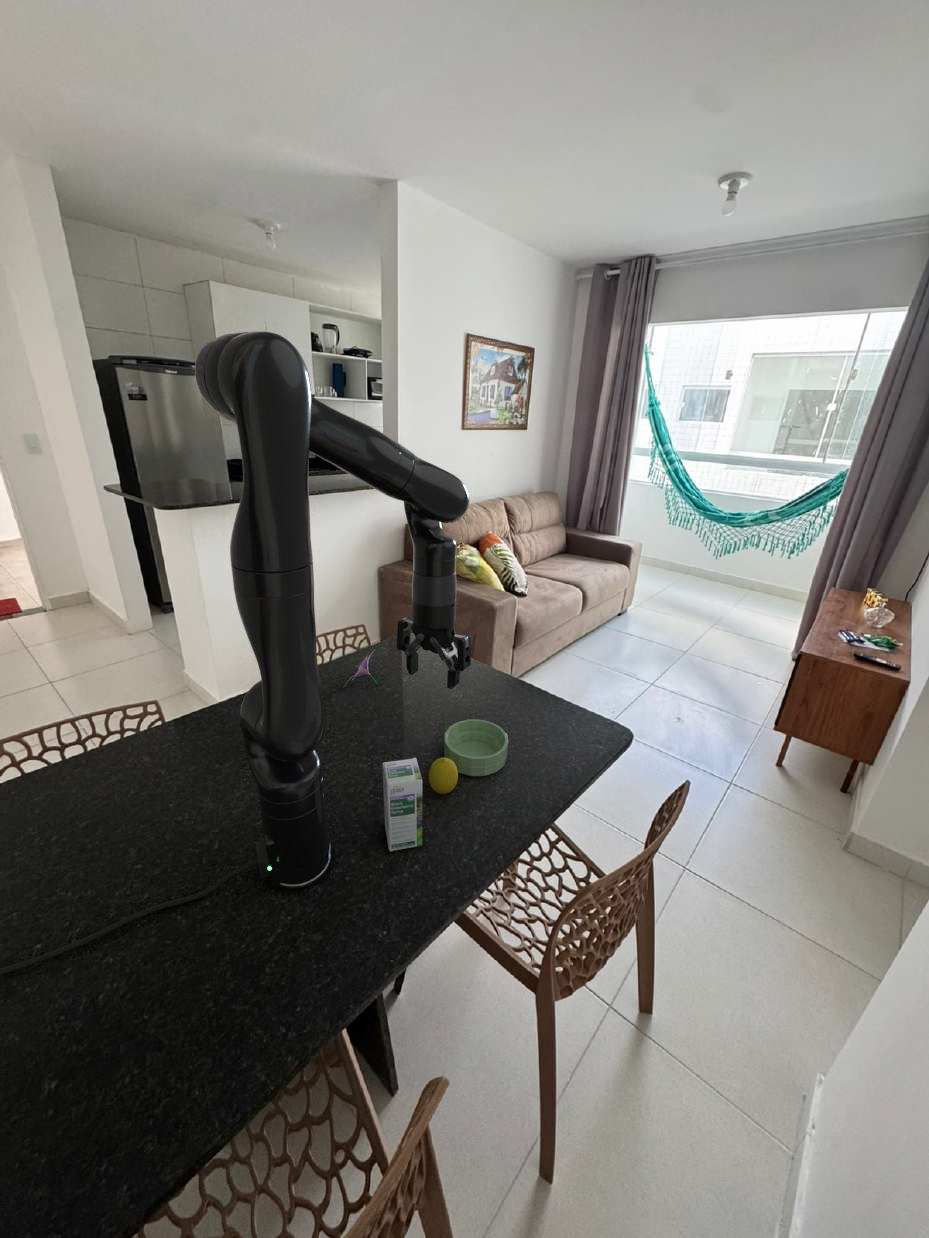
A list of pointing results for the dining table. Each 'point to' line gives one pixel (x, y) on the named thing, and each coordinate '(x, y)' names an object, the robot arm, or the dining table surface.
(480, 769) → the bowl
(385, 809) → the syrup box
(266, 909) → the dining table surface
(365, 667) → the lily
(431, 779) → the lemon
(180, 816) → the dining table surface
